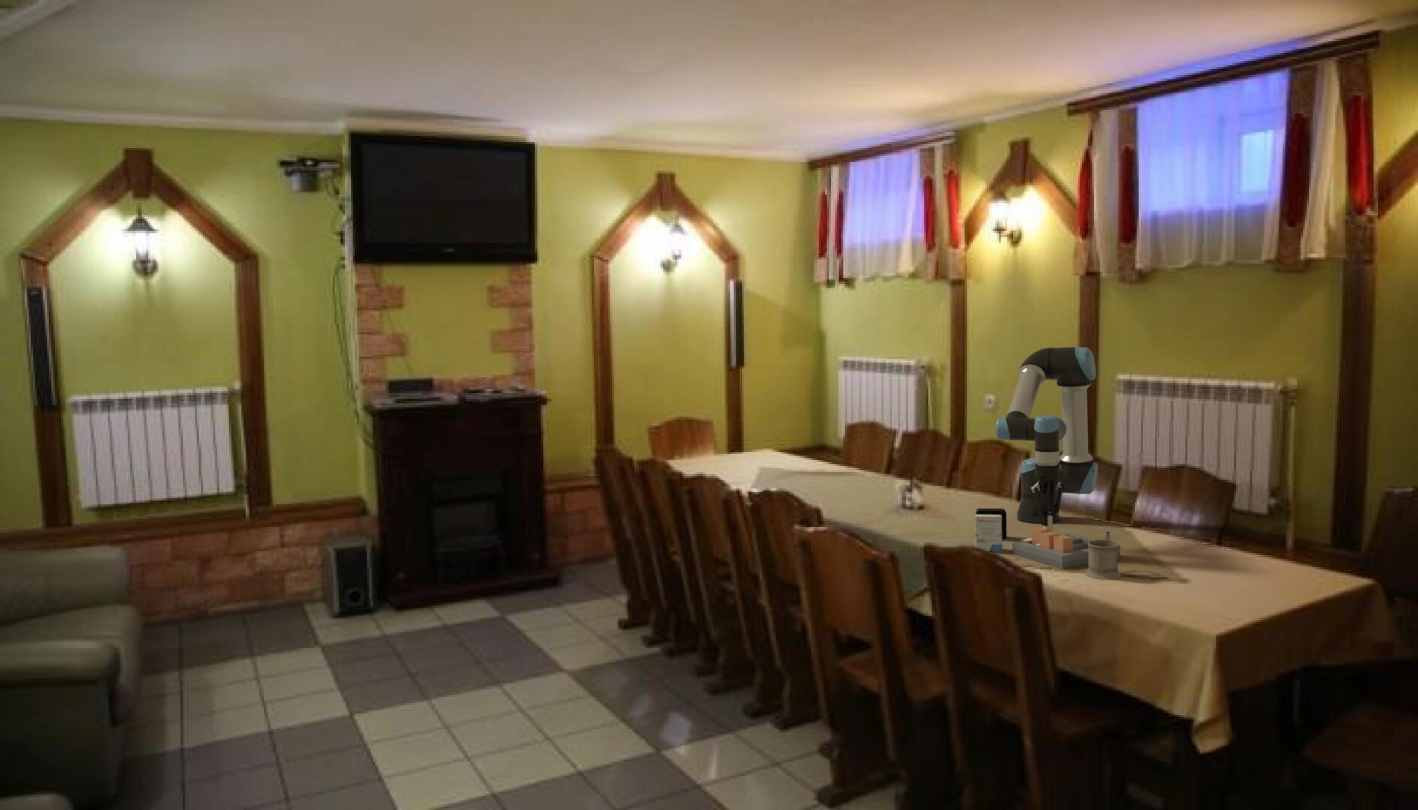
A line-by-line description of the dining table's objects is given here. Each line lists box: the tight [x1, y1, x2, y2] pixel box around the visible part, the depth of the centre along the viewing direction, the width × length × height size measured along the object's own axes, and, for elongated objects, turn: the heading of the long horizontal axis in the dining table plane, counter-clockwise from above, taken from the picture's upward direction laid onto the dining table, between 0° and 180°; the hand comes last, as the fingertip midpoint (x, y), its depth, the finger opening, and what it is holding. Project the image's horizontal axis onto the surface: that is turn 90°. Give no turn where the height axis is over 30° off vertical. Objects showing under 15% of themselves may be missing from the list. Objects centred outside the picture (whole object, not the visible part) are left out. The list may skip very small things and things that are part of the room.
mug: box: [1085, 529, 1122, 581], centre depth 296 cm, size 14×10×12 cm
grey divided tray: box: [1011, 531, 1121, 570], centre depth 317 cm, size 24×22×4 cm
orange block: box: [1054, 535, 1073, 553], centre depth 309 cm, size 4×4×6 cm
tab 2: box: [1040, 531, 1060, 549], centre depth 314 cm, size 4×4×6 cm
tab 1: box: [1031, 526, 1050, 545], centre depth 321 cm, size 4×4×6 cm
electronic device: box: [975, 507, 1008, 540], centre depth 345 cm, size 4×10×10 cm, turn 78°
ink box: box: [974, 513, 1003, 553], centre depth 328 cm, size 9×5×12 cm, turn 71°
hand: (1047, 535), depth 322 cm, fingers closed
